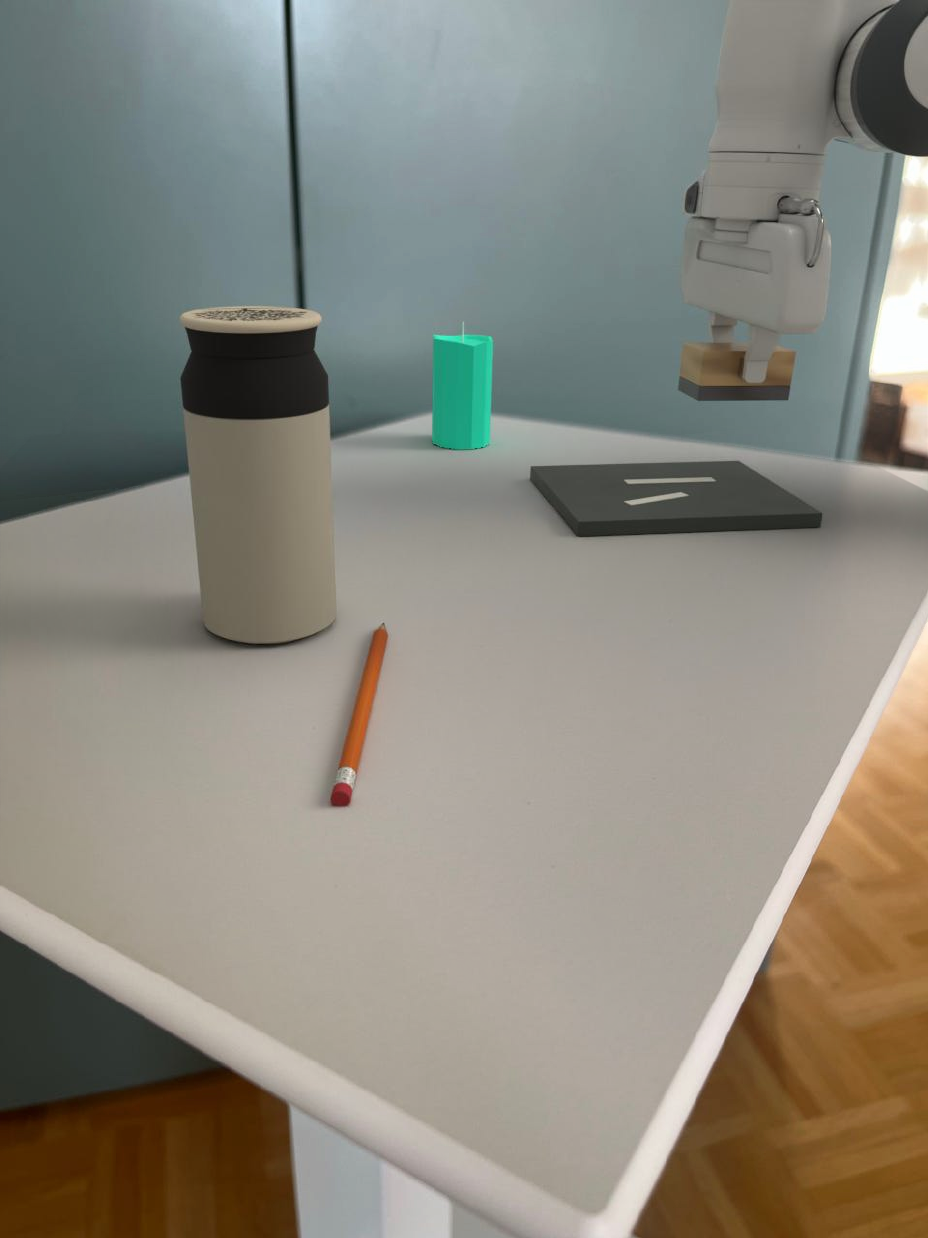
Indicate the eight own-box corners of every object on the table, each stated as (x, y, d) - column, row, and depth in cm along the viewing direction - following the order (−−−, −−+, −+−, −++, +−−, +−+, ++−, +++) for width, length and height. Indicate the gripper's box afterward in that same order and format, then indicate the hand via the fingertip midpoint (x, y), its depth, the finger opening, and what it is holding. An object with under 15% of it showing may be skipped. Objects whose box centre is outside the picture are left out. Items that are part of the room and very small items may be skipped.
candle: (426, 447, 100) (427, 324, 96) (437, 433, 106) (438, 316, 101) (485, 451, 100) (489, 326, 95) (493, 437, 105) (497, 318, 100)
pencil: (330, 808, 43) (329, 791, 43) (376, 628, 61) (376, 615, 60) (350, 808, 43) (350, 791, 43) (391, 629, 61) (390, 615, 60)
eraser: (764, 389, 87) (771, 342, 86) (788, 400, 83) (796, 351, 81) (677, 390, 86) (683, 342, 84) (697, 401, 82) (703, 350, 80)
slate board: (737, 472, 94) (738, 459, 94) (820, 527, 80) (823, 512, 79) (529, 478, 91) (530, 465, 90) (577, 536, 76) (578, 520, 76)
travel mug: (340, 644, 58) (329, 323, 51) (199, 651, 57) (166, 324, 49) (333, 592, 65) (323, 304, 58) (208, 598, 64) (181, 304, 57)
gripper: (868, 200, 69) (832, 400, 75) (743, 193, 88) (722, 354, 93) (783, 197, 68) (753, 400, 74) (675, 191, 87) (658, 354, 92)
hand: (735, 374), depth 84 cm, fingers closed on eraser, 4 cm apart
